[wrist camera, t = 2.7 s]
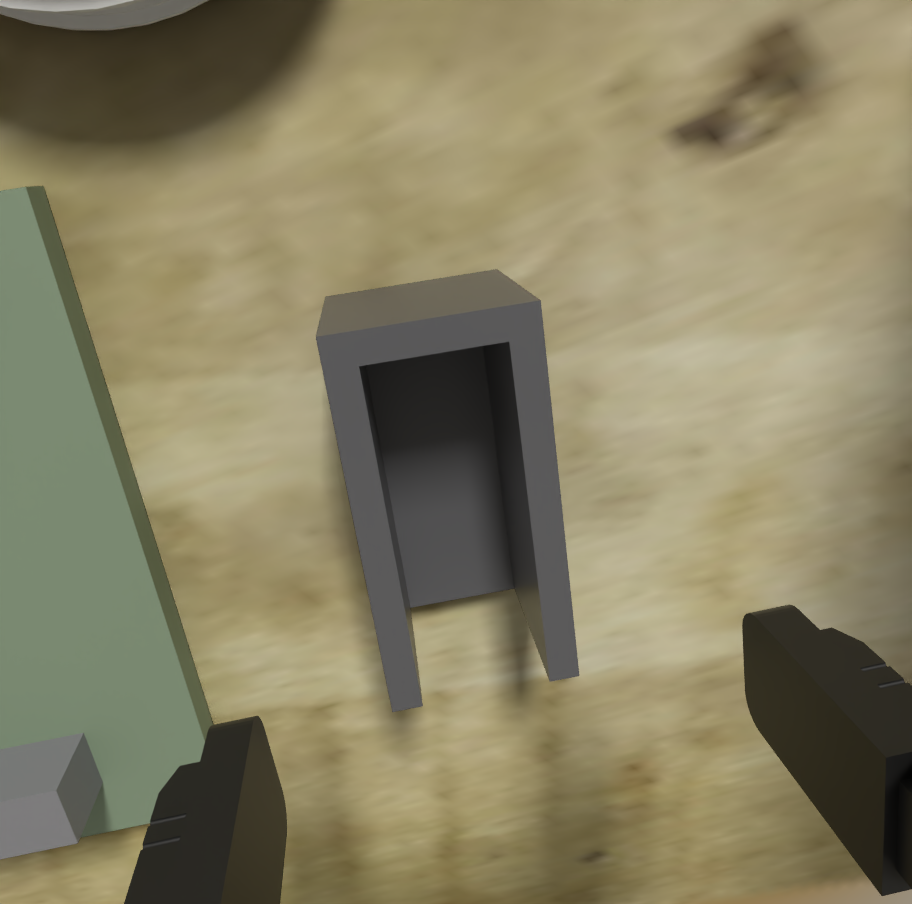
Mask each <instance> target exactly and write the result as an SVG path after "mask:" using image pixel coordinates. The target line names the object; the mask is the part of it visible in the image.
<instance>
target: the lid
mask: <svg viewBox="0 0 912 904" xmlns="http://www.w3.org/2000/svg"><path fill="white" fill-rule="evenodd" d="M207 1H208V0H0V14H1V15H5V16H8V17H11V18H15V19H18V20H22V21H25V22H28V23H32V24H36V25H42V26H49V27H56V28H62V29H69V30H117V29H123V28H130V27H137V26H143V25H149V24H152V23H155V22H158V21H161V20H164V19H168V18H171V17H174V16H177V15H180V14H183V13H185V12H187V11H189V10H191V9H193V8H195V7H197V6H199V5H201V4H203V3H205V2H207Z"/></svg>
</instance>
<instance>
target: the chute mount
mask: <svg viewBox="0 0 912 904" xmlns="http://www.w3.org/2000/svg"><path fill="white" fill-rule="evenodd" d="M211 725H213V722H212V719H211V716H210V713H209V709H208V706H207V703H206V700H205V697H204V694H203V690H202V687H201V684H200V681H199V678H198V675H197V671H196V668H195V665H194V662H193V659H192V656H191V652H190V649H189V646H188V643H187V640H186V637H185V633H184V630H183V627H182V624H181V621H180V618H179V614H178V611H177V608H176V605H175V602H174V599H173V595H172V592H171V589H170V586H169V583H168V580H167V576H166V573H165V570H164V567H163V564H162V561H161V557H160V554H159V551H158V548H157V545H156V542H155V538H154V535H153V532H152V529H151V526H150V523H149V519H148V516H147V513H146V510H145V507H144V503H143V500H142V497H141V494H140V491H139V488H138V484H137V481H136V478H135V475H134V472H133V469H132V465H131V462H130V459H129V456H128V453H127V450H126V446H125V443H124V440H123V437H122V434H121V431H120V427H119V424H118V421H117V418H116V415H115V412H114V408H113V405H112V402H111V399H110V396H109V393H108V389H107V386H106V383H105V380H104V377H103V374H102V370H101V367H100V364H99V361H98V358H97V355H96V351H95V348H94V345H93V342H92V339H91V336H90V332H89V329H88V326H87V323H86V320H85V317H84V313H83V310H82V307H81V304H80V301H79V298H78V294H77V291H76V288H75V285H74V282H73V279H72V275H71V272H70V269H69V266H68V263H67V260H66V256H65V253H64V250H63V247H62V244H61V240H60V237H59V234H58V231H57V228H56V225H55V221H54V218H53V215H52V212H51V209H50V206H49V202H48V199H47V196H46V193H45V190H44V187H43V186H34V187H22V188H16V189H10V190H3V191H0V859H5V858H9V857H14V856H19V855H24V854H29V853H34V852H38V851H43V850H48V849H53V848H58V847H62V846H67V845H72V844H77V843H78V842H79V839H80V838H81V837H86V836H91V835H95V834H100V833H105V832H110V831H115V830H119V829H124V828H129V827H134V826H139V825H144V824H148V823H150V819H151V816H152V813H153V809H154V806H155V803H156V800H157V797H158V794H159V792H160V791H161V789H162V788H163V787H164V785H165V784H166V783H167V782H168V780H169V779H170V778H171V776H172V775H173V774H174V773H175V771H176V770H177V769H178V767H179V766H181V765H186V764H191V763H195V762H200V759H201V756H202V752H203V748H204V744H205V740H206V736H207V732H208V729H209V728H210V726H211Z"/></svg>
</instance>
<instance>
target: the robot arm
mask: <svg viewBox="0 0 912 904" xmlns="http://www.w3.org/2000/svg"><path fill="white" fill-rule="evenodd" d="M742 629H743V653H744V677H745V694H746V700H747V704H748V708H749V711H750V714H751V716H752V719H753V721H754V723H755V725H756V727H757V728H758V730H759V731H760V733H761V734H762V736H763V737H764V738H765V740H766V741H767V742H768V744H769V745H770V746H771V748H772V749H773V750H774V752H775V753H776V754H777V756H778V757H779V758H780V760H781V761H782V763H783V764H784V765H785V767H786V768H787V769H788V771H789V772H790V773H791V775H792V776H793V777H794V779H795V780H796V781H797V783H798V784H799V785H800V787H801V788H802V789H803V791H804V792H805V793H806V795H807V796H808V798H809V799H810V800H811V802H812V803H813V804H814V806H815V807H816V808H817V810H818V811H819V812H820V814H821V815H822V816H823V818H824V819H825V820H826V822H827V823H828V824H829V826H830V827H831V828H832V830H833V831H834V832H835V834H836V835H837V837H838V838H839V839H840V841H841V842H842V843H843V845H844V846H845V847H846V849H847V850H848V851H849V853H850V854H851V855H852V857H853V858H854V859H855V861H856V862H857V863H858V865H859V866H860V867H861V869H862V870H863V872H864V873H865V874H866V876H867V877H868V878H869V880H870V881H871V882H872V884H873V885H874V886H875V888H876V889H877V890H878V892H879V893H880V894H881V896H885V895H889V894H893V893H897V892H901V891H906V890H909V889H912V686H911V685H910V684H909V683H906V684H905V682H904V679H903V678H902V677H901V676H900V675H899V674H898V673H897V672H896V671H894V670H893V669H892V668H891V667H890V666H889V667H887V666H886V664H885V662H884V661H883V660H882V659H881V658H880V657H879V656H878V655H877V654H876V653H874V652H873V651H872V650H871V649H870V648H869V647H868V646H867V645H866V644H864V643H863V642H861V641H859V640H857V639H855V638H853V637H851V636H848V635H846V634H844V633H842V632H840V631H838V630H836V629H834V628H828V629H823V630H819V629H818V628H817V627H816V626H815V625H814V624H813V623H812V622H811V621H810V620H809V619H808V618H807V617H806V616H805V615H804V614H803V613H802V612H801V611H800V610H798V609H797V608H796V607H795V606H793V605H785V606H781V607H776V608H771V609H767V610H762V611H757V612H752V613H748V614H746V615H745V616H744V618H743V625H742ZM286 837H287V816H286V807H285V800H284V795H283V791H282V787H281V784H280V780H279V777H278V774H277V770H276V767H275V763H274V760H273V756H272V753H271V750H270V746H269V743H268V739H267V736H266V733H265V729H264V726H263V723H262V721H261V719H260V718H259V716H254V717H249V718H244V719H240V720H235V721H230V722H225V723H221V724H216V725H211V726H210V728H209V729H208V732H207V736H206V740H205V744H204V748H203V752H202V756H201V759H200V762H195V763H191V764H186V765H181V766H179V767H178V769H177V770H176V771H175V773H174V774H173V775H172V776H171V778H170V779H169V780H168V782H167V783H166V784H165V785H164V787H163V788H162V789H161V791H160V792H159V794H158V797H157V800H156V803H155V806H154V809H153V813H152V816H151V819H150V826H148V829H147V832H146V835H145V838H144V841H143V850H141V851H140V854H139V857H138V861H137V864H136V867H135V870H134V873H133V877H132V880H131V883H130V886H129V889H128V893H127V896H126V899H125V902H124V904H280V898H281V888H282V878H283V867H284V857H285V847H286Z"/></svg>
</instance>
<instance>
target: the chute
mask: <svg viewBox="0 0 912 904" xmlns="http://www.w3.org/2000/svg"><path fill="white" fill-rule="evenodd" d="M316 340H317V345H318V350H319V355H320V360H321V365H322V370H323V375H324V380H325V384H326V389H327V394H328V399H329V404H330V409H331V414H332V419H333V424H334V428H335V433H336V438H337V443H338V448H339V453H340V458H341V463H342V468H343V472H344V477H345V482H346V487H347V492H348V497H349V502H350V507H351V512H352V516H353V521H354V526H355V531H356V536H357V541H358V546H359V551H360V556H361V560H362V565H363V570H364V575H365V580H366V585H367V590H368V595H369V600H370V604H371V609H372V614H373V619H374V624H375V629H376V634H377V639H378V644H379V648H380V653H381V658H382V663H383V668H384V673H385V678H386V683H387V688H388V693H389V697H390V702H391V707H392V712H395V711H400V710H405V709H411V708H416V707H421V706H423V704H422V696H421V688H420V680H419V672H418V664H417V656H416V648H415V640H414V632H413V624H412V616H411V608H412V607H417V606H422V605H428V604H433V603H439V602H444V601H449V600H455V599H460V598H466V597H471V596H476V595H482V594H487V593H493V592H498V591H503V590H509V589H514V588H515V591H516V594H517V596H518V599H519V602H520V604H521V607H522V609H523V612H524V615H525V617H526V620H527V623H528V625H529V628H530V631H531V633H532V636H533V639H534V641H535V644H536V647H537V649H538V652H539V654H540V657H541V660H542V662H543V665H544V668H545V670H546V673H547V676H548V678H549V681H555V680H561V679H566V678H571V677H576V676H579V668H578V659H577V649H576V639H575V630H574V620H573V610H572V601H571V591H570V581H569V571H568V562H567V552H566V542H565V533H564V523H563V513H562V504H561V494H560V484H559V474H558V465H557V455H556V445H555V436H554V426H553V416H552V407H551V397H550V387H549V377H548V368H547V358H546V348H545V339H544V329H543V319H542V310H541V300H539V299H538V298H537V297H535V296H534V295H532V294H531V293H530V292H528V291H527V290H525V289H524V288H523V287H521V286H520V285H518V284H517V283H515V282H514V281H513V280H511V279H510V278H508V277H507V276H506V275H504V274H503V273H501V272H500V271H499V270H497V269H495V270H489V271H483V272H477V273H470V274H464V275H458V276H452V277H445V278H439V279H433V280H427V281H420V282H414V283H408V284H402V285H395V286H389V287H383V288H377V289H370V290H364V291H358V292H352V293H345V294H339V295H333V296H326V297H325V301H324V305H323V309H322V313H321V317H320V321H319V326H318V330H317V334H316Z"/></svg>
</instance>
